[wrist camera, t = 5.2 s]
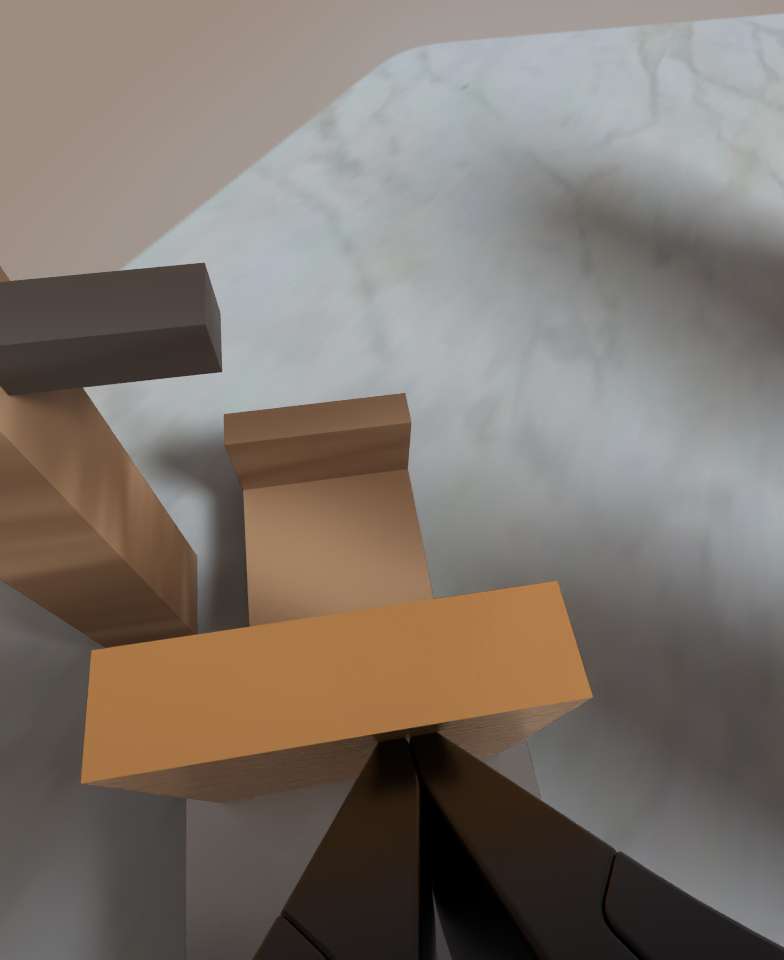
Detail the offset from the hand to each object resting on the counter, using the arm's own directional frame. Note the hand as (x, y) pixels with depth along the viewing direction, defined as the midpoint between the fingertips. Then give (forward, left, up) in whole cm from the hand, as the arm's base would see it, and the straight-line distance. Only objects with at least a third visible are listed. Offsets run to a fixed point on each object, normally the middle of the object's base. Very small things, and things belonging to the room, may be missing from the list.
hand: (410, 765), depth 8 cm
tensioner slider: (-1, +1, -8) cm, 8 cm away
